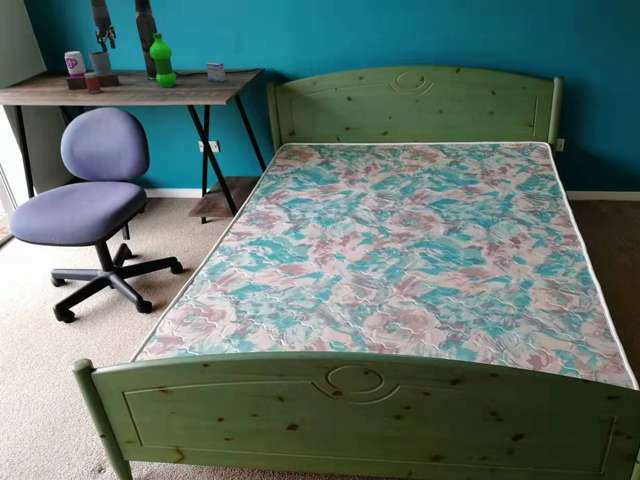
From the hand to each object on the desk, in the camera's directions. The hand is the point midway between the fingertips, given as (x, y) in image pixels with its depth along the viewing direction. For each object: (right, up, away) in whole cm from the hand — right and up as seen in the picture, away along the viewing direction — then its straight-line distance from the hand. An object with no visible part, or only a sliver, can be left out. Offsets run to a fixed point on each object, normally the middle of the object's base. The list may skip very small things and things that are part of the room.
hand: (109, 50), depth 300 cm
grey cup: (-15, -4, +27) cm, 30 cm away
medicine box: (+51, -11, +12) cm, 54 cm away
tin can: (-6, -22, -2) cm, 23 cm away
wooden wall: (-11, -16, +7) cm, 20 cm away
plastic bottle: (+27, -16, +5) cm, 32 cm away
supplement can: (-22, -11, +15) cm, 29 cm away
